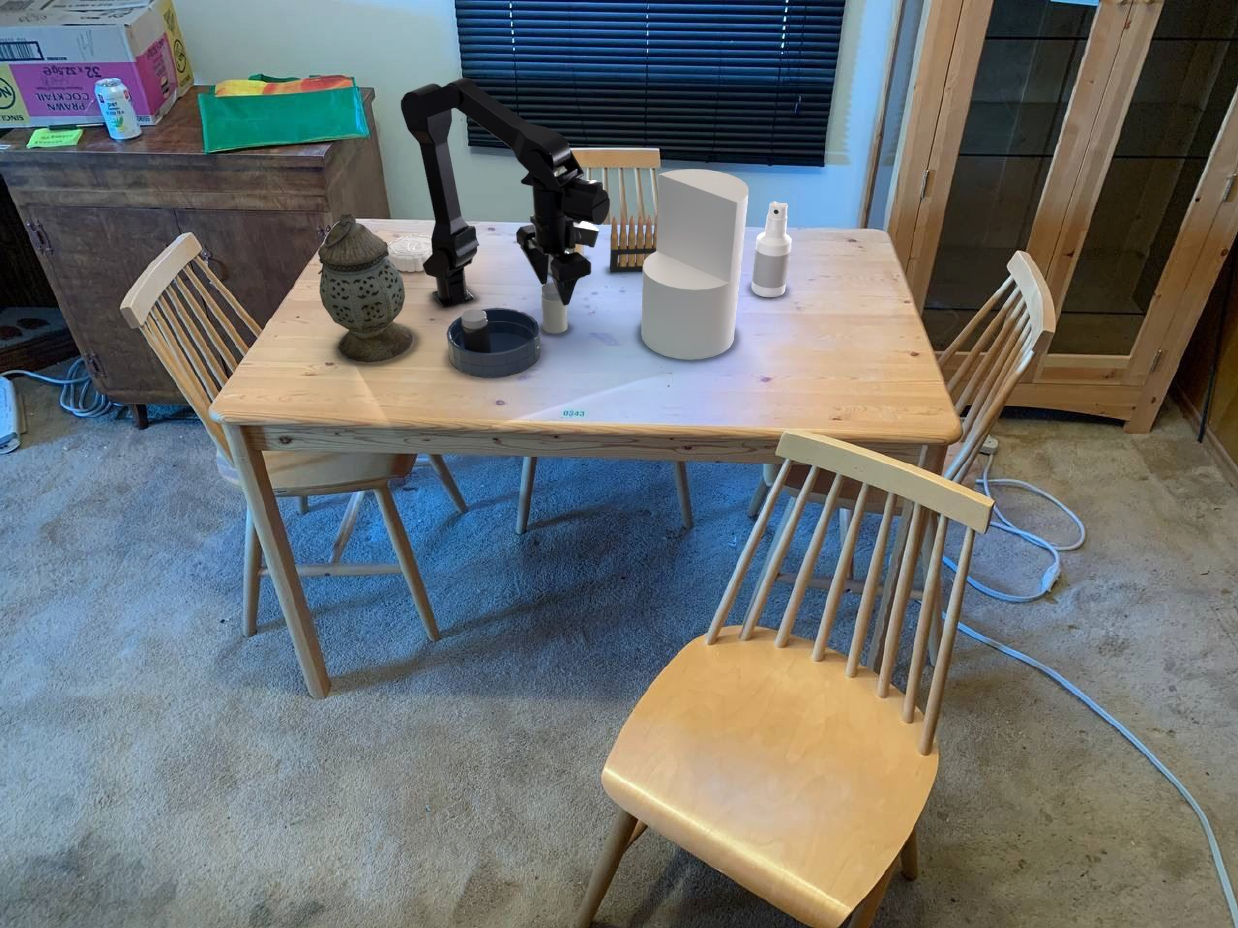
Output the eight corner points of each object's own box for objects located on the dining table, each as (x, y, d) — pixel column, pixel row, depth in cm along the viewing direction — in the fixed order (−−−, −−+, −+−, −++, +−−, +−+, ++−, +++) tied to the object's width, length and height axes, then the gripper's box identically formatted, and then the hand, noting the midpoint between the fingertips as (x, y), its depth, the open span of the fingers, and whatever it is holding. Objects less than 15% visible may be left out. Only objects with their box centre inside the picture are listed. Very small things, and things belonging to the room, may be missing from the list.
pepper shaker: (462, 354, 152) (456, 312, 147) (485, 348, 154) (481, 306, 148) (471, 366, 149) (466, 324, 143) (495, 360, 151) (491, 317, 145)
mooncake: (376, 268, 179) (373, 252, 177) (403, 245, 188) (401, 229, 186) (427, 275, 177) (425, 260, 174) (453, 252, 186) (451, 236, 183)
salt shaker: (539, 326, 161) (536, 285, 155) (560, 320, 162) (559, 280, 157) (549, 337, 157) (547, 296, 152) (571, 331, 159) (570, 290, 154)
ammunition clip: (659, 267, 180) (661, 212, 173) (660, 271, 179) (662, 216, 171) (609, 268, 179) (609, 214, 172) (610, 272, 178) (610, 217, 170)
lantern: (390, 370, 148) (363, 235, 133) (319, 358, 152) (284, 224, 136) (427, 331, 159) (406, 202, 143) (360, 320, 162) (332, 192, 146)
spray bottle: (747, 294, 171) (756, 208, 159) (755, 280, 176) (765, 195, 164) (780, 300, 169) (792, 213, 157) (788, 285, 174) (800, 200, 162)
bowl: (437, 345, 155) (433, 321, 152) (518, 324, 161) (516, 300, 158) (470, 389, 144) (467, 364, 141) (555, 364, 150) (554, 339, 147)
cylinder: (684, 303, 168) (692, 161, 150) (753, 335, 158) (770, 188, 141) (622, 334, 158) (623, 187, 141) (691, 370, 149) (701, 217, 131)
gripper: (618, 222, 142) (618, 305, 152) (568, 185, 155) (570, 264, 165) (558, 235, 138) (562, 320, 148) (512, 197, 151) (518, 277, 160)
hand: (554, 294), depth 155 cm, fingers open, 9 cm apart
